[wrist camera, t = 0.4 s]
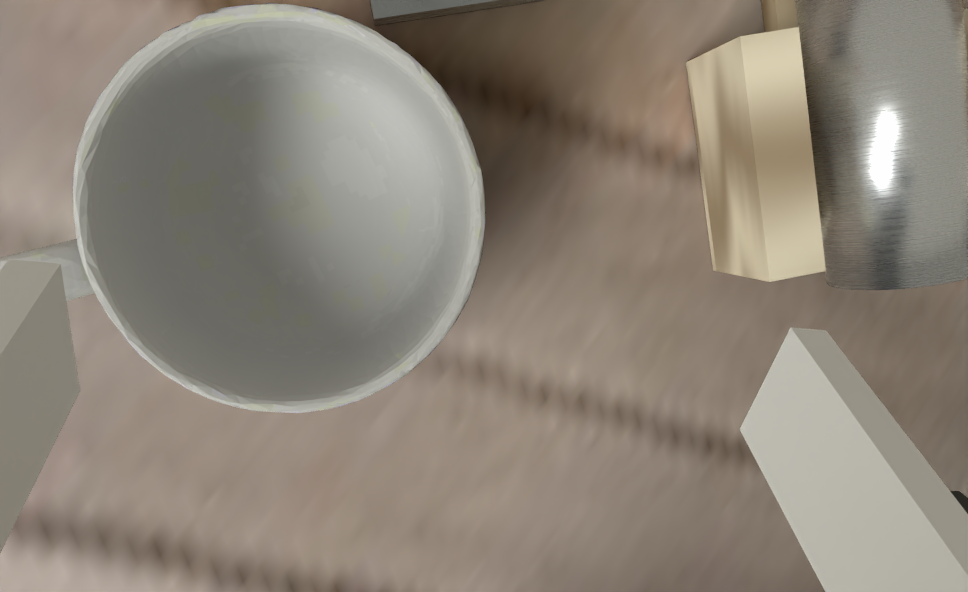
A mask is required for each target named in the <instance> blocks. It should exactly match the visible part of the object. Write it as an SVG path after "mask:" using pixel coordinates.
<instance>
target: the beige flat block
mask: <svg viewBox="0 0 968 592" xmlns="http://www.w3.org/2000/svg"><path fill="white" fill-rule="evenodd" d="M761 3H762V12H763V20H764V29H765V32H764V33H758V34H752V35H745V36H740V37H738V38H736V39H733V40H731V41H729V42H727V43H725V44H723V45H721V46H719V47H717V48H715V49H713V50H711V51H709V52H707V53H704V54H702V55H700V56H698V57H696V58H694V59H692V60H690V61H688V62H686V68H687V75H688V83H689V91H690V98H691V106H692V113H693V121H694V128H695V136H696V144H697V151H698V159H699V166H700V174H701V181H702V189H703V197H704V204H705V212H706V219H707V227H708V235H709V242H710V250H711V257H712V265H713V271H718V272H723V273H728V274H733V275H738V276H743V277H748V278H753V279H758V280H763V281H768V282H772V281H777V280H782V279H787V278H792V277H798V276H803V275H808V274H813V273H818V272H823V271H826V267H825V258H824V249H823V240H822V231H821V222H820V213H819V204H818V195H817V186H816V177H815V168H814V159H813V150H812V141H811V132H810V123H809V114H808V105H807V96H806V87H805V78H804V69H803V60H802V51H801V42H800V33H799V27H798V20H797V11H796V2H795V0H761ZM963 12H964V24H965V37H966V49H967V61H968V8H965V9H963Z"/></svg>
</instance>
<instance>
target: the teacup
mask: <svg viewBox="0 0 968 592" xmlns="http://www.w3.org/2000/svg"><path fill="white" fill-rule="evenodd" d="M73 214H74V221H75V229H76V237H77V239H74V240H70V241H66V242H62V243H58V244H54V245H50V246H46V247H42V248H38V249H34V250H31V251H27V252H23V253H18V254H13V255H9V256H5V257H2V258H0V270H1V269H2V268H3V266H4V265H5V264H6V262H7V261H8V260H9V259H12V260H23V261H35V262H46V263H58V264H61V270H62V277H63V283H64V290H65V296H66V301H69V300H73V299H76V298H80V297H83V296H86V295H90V294H93V293H95V294H96V296H97V298H98V300H99V301H100V303H101V305H102V307H103V308H104V310H105V312H106V314H107V315H108V317H109V318H110V319H111V320H112V322H113V323H114V324H115V326H116V327H117V328H118V330H119V331H120V332H121V333H122V335H123V336H124V337H125V338H126V340H127V341H128V342H129V344H130V345H131V346H132V347H133V348H134V349H135V350H136V351H137V352H138V353H139V354H140V356H141V357H143V358H144V359H145V360H147V361H148V362H149V363H151V364H152V365H153V366H154V367H155V368H157V369H158V370H159V371H160V372H162V373H163V374H164V375H165V376H167V377H169V378H170V379H172V380H174V381H175V382H177V383H179V384H180V385H182V386H184V387H185V388H187V389H189V390H190V391H193V392H195V393H197V394H199V395H201V396H204V397H206V398H209V399H211V400H214V401H217V402H220V403H223V404H226V405H230V406H233V407H237V408H242V409H247V410H252V411H267V412H282V413H304V412H312V411H319V410H327V409H331V408H335V407H340V406H344V405H347V404H349V403H352V402H355V401H358V400H361V399H363V398H366V397H368V396H370V395H372V394H374V393H376V392H378V391H380V390H382V389H383V388H385V387H387V386H389V385H391V384H392V383H394V382H396V381H397V380H399V379H400V378H402V377H403V376H405V375H406V374H408V373H409V372H410V371H411V370H412V369H413V368H415V367H416V366H417V365H418V364H419V363H420V362H422V361H423V360H424V359H425V358H426V357H427V356H429V355H430V354H431V352H432V351H433V350H434V349H435V348H436V347H437V345H438V344H439V343H440V342H441V341H442V340H443V338H444V337H445V336H446V334H447V333H448V331H449V330H450V329H451V327H452V326H453V325H454V323H455V322H456V320H457V319H458V317H459V315H460V313H461V311H462V310H463V308H464V306H465V304H466V302H467V300H468V298H469V296H470V293H471V290H472V287H473V284H474V282H475V279H476V275H477V272H478V268H479V264H480V261H481V257H482V251H483V238H484V231H485V193H484V185H483V178H482V172H481V167H480V164H479V161H478V158H477V155H476V151H475V148H474V145H473V143H472V140H471V138H470V135H469V133H468V130H467V128H466V126H465V124H464V121H463V119H462V117H461V115H460V113H459V111H458V110H457V108H456V107H455V105H454V104H453V102H452V100H451V99H450V97H449V96H448V94H447V93H446V91H445V90H444V89H443V87H442V86H441V85H440V84H439V83H438V82H437V81H436V80H435V79H434V78H433V77H432V75H431V74H430V73H429V72H428V71H427V70H426V69H425V68H424V67H422V66H421V65H420V64H419V63H418V62H417V61H416V60H415V59H414V58H413V57H412V56H411V55H410V54H408V53H407V52H405V51H404V50H403V49H401V48H400V47H399V46H398V45H397V44H395V43H393V42H391V41H389V40H388V39H386V38H384V37H383V36H382V35H380V34H379V33H377V32H376V31H374V30H372V29H370V28H368V27H367V26H365V25H362V24H360V23H358V22H356V21H353V20H351V19H348V18H345V17H342V16H340V15H337V14H335V13H331V12H326V11H323V10H321V9H318V8H311V7H301V6H296V5H291V4H275V3H265V4H262V5H254V4H249V5H242V6H234V7H226V8H221V9H219V10H216V11H214V12H210V13H206V14H202V15H199V16H198V17H197V18H195V19H194V20H193V21H189V22H186V23H182V24H181V25H179V26H177V27H175V28H173V29H170V30H168V31H166V32H164V33H163V34H162V35H161V36H160V37H159V38H157V39H154V40H152V41H151V42H149V43H148V44H147V45H145V46H144V47H143V48H141V49H140V50H139V51H138V52H137V53H136V54H135V55H134V56H133V57H131V58H130V59H129V60H128V61H127V62H125V64H124V65H123V66H122V67H121V69H120V70H119V71H118V72H117V74H116V75H115V77H114V78H113V79H112V81H111V82H110V83H109V85H108V86H107V88H106V89H105V90H104V91H103V92H102V94H101V95H100V96H99V98H98V100H97V102H96V104H95V105H94V107H93V109H92V111H91V113H90V115H89V117H88V120H87V122H86V124H85V127H84V132H83V134H82V137H81V139H80V142H79V144H78V148H77V154H76V159H75V167H74V176H73Z"/></svg>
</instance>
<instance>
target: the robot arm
mask: <svg viewBox="0 0 968 592" xmlns="http://www.w3.org/2000/svg"><path fill="white" fill-rule="evenodd" d="M79 392H80V385H79V379H78V372H77V366H76V360H75V353H74V347H73V341H72V334H71V328H70V321H69V315H68V309H67V302H66V296H65V290H64V283H63V277H62V270H61V264H58V263H46V262H35V261H23V260H12V259H9V260H8V261H7V262H6V264H5V265H4V266H3V268H2V269H1V270H0V553H1V551H2V549H3V547H4V545H5V542H6V540H7V538H8V536H9V534H10V532H11V530H12V528H13V526H14V524H15V522H16V520H17V518H18V516H19V514H20V512H21V510H22V508H23V506H24V504H25V502H26V500H27V498H28V496H29V494H30V492H31V490H32V488H33V486H34V484H35V482H36V480H37V477H38V475H39V473H40V471H41V469H42V467H43V465H44V463H45V461H46V459H47V457H48V455H49V453H50V451H51V449H52V447H53V445H54V443H55V441H56V439H57V437H58V435H59V433H60V431H61V429H62V427H63V425H64V423H65V421H66V419H67V417H68V415H69V412H70V410H71V408H72V406H73V404H74V402H75V400H76V398H77V396H78V394H79ZM740 431H741V433H742V435H743V437H744V439H745V441H746V442H747V444H748V446H749V448H750V450H751V452H752V454H753V456H754V458H755V460H756V461H757V463H758V465H759V467H760V469H761V471H762V473H763V475H764V477H765V479H766V480H767V482H768V484H769V486H770V488H771V490H772V492H773V494H774V496H775V497H776V499H777V501H778V503H779V505H780V507H781V509H782V511H783V513H784V515H785V516H786V518H787V520H788V522H789V524H790V526H791V528H792V530H793V532H794V534H795V535H796V537H797V539H798V541H799V543H800V545H801V547H802V549H803V551H804V553H805V554H806V556H807V558H808V560H809V562H810V564H811V566H812V568H813V570H814V571H815V573H816V575H817V577H818V579H819V581H820V583H821V585H822V587H823V589H824V590H825V592H968V498H967V497H966V496H964V495H963V494H962V493H961V492H959V491H950V490H949V489H948V488H947V486H946V485H945V484H944V483H943V481H942V480H941V479H940V477H939V476H938V475H937V474H936V472H935V471H934V470H933V468H932V467H931V466H930V464H929V463H928V462H927V461H926V459H925V458H924V457H923V455H922V454H921V453H920V451H919V450H918V449H917V448H916V446H915V445H914V444H913V442H912V441H911V440H910V439H909V437H908V436H907V435H906V433H905V432H904V431H903V429H902V428H901V427H900V426H899V424H898V423H897V422H896V420H895V419H894V418H893V417H892V415H891V414H890V413H889V411H888V410H887V409H886V407H885V406H884V405H883V404H882V402H881V401H880V400H879V398H878V397H877V396H876V394H875V393H874V392H873V391H872V389H871V388H870V387H869V385H868V384H867V383H866V382H865V380H864V379H863V378H862V376H861V375H860V374H859V372H858V371H857V370H856V369H855V367H854V366H853V365H852V363H851V362H850V361H849V359H848V358H847V357H846V356H845V354H844V353H843V352H842V350H841V349H840V348H839V347H838V345H837V344H836V343H835V341H834V340H833V339H832V337H831V336H830V335H829V334H828V332H827V331H826V330H816V329H804V328H793V327H791V328H790V330H789V332H788V334H787V336H786V338H785V340H784V342H783V344H782V346H781V348H780V350H779V352H778V354H777V356H776V358H775V360H774V362H773V364H772V366H771V368H770V370H769V372H768V374H767V376H766V378H765V380H764V382H763V384H762V386H761V388H760V390H759V392H758V394H757V396H756V398H755V400H754V402H753V404H752V406H751V408H750V410H749V412H748V414H747V416H746V418H745V420H744V422H743V424H742V426H741V428H740Z"/></svg>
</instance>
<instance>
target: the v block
mask: <svg viewBox="0 0 968 592" xmlns="http://www.w3.org/2000/svg"><path fill="white" fill-rule="evenodd" d="M535 1H542V0H370V3H371V9H372V14H373V19H374V25H375V26H376V25H383V24H390V23H396V22H403V21H409V20H416V19H423V18H429V17H436V16H442V15H449V14H456V13H462V12H469V11H476V10H482V9H489V8H495V7H502V6H509V5H515V4H522V3H528V2H535Z"/></svg>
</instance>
